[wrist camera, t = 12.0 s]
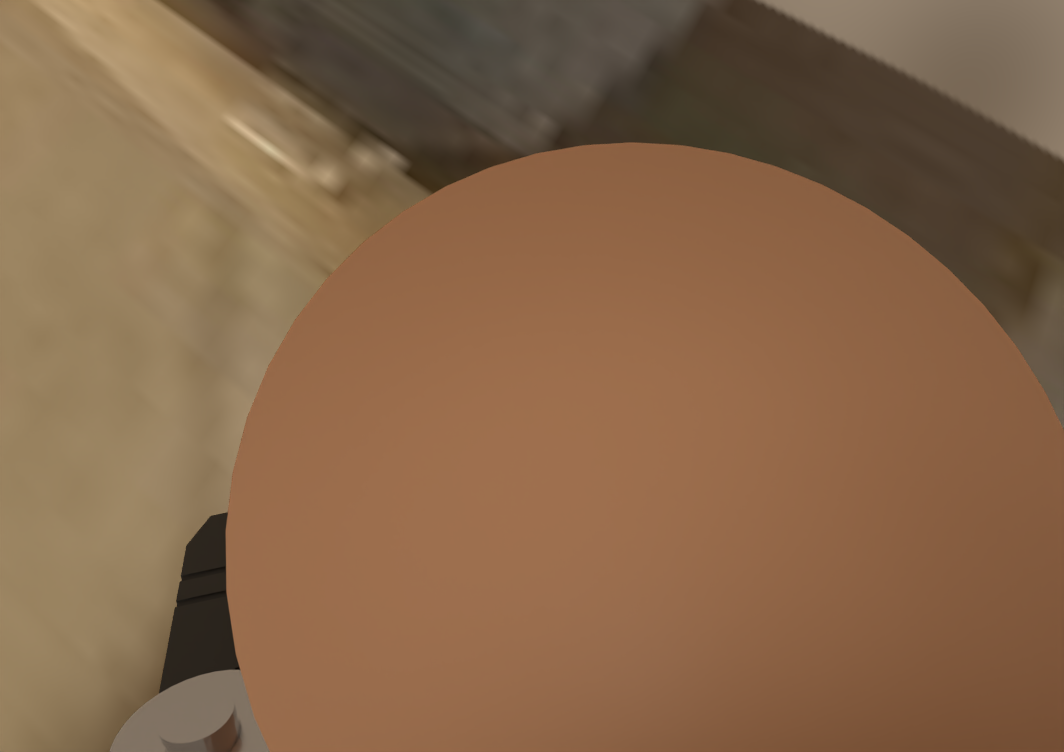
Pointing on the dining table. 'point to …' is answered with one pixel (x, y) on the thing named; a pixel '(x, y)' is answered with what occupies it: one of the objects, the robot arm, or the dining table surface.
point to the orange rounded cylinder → (648, 481)
